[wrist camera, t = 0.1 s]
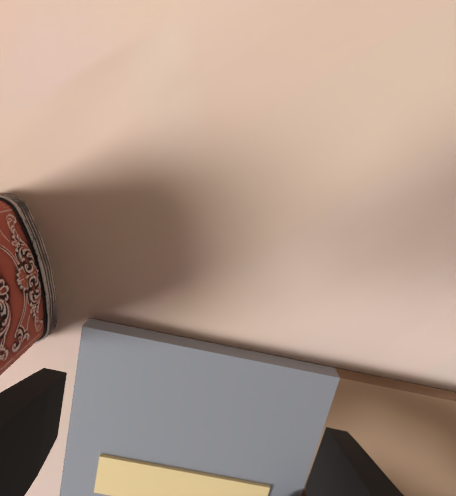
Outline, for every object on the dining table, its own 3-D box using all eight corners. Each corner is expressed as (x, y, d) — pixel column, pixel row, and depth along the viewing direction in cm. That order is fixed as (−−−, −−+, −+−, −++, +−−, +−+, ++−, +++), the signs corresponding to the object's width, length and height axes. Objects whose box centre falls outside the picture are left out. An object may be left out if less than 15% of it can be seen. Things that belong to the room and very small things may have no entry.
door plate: (260, 597, 25) (261, 619, 24) (55, 562, 24) (46, 583, 23) (334, 367, 21) (341, 380, 19) (89, 318, 20) (80, 327, 19)
